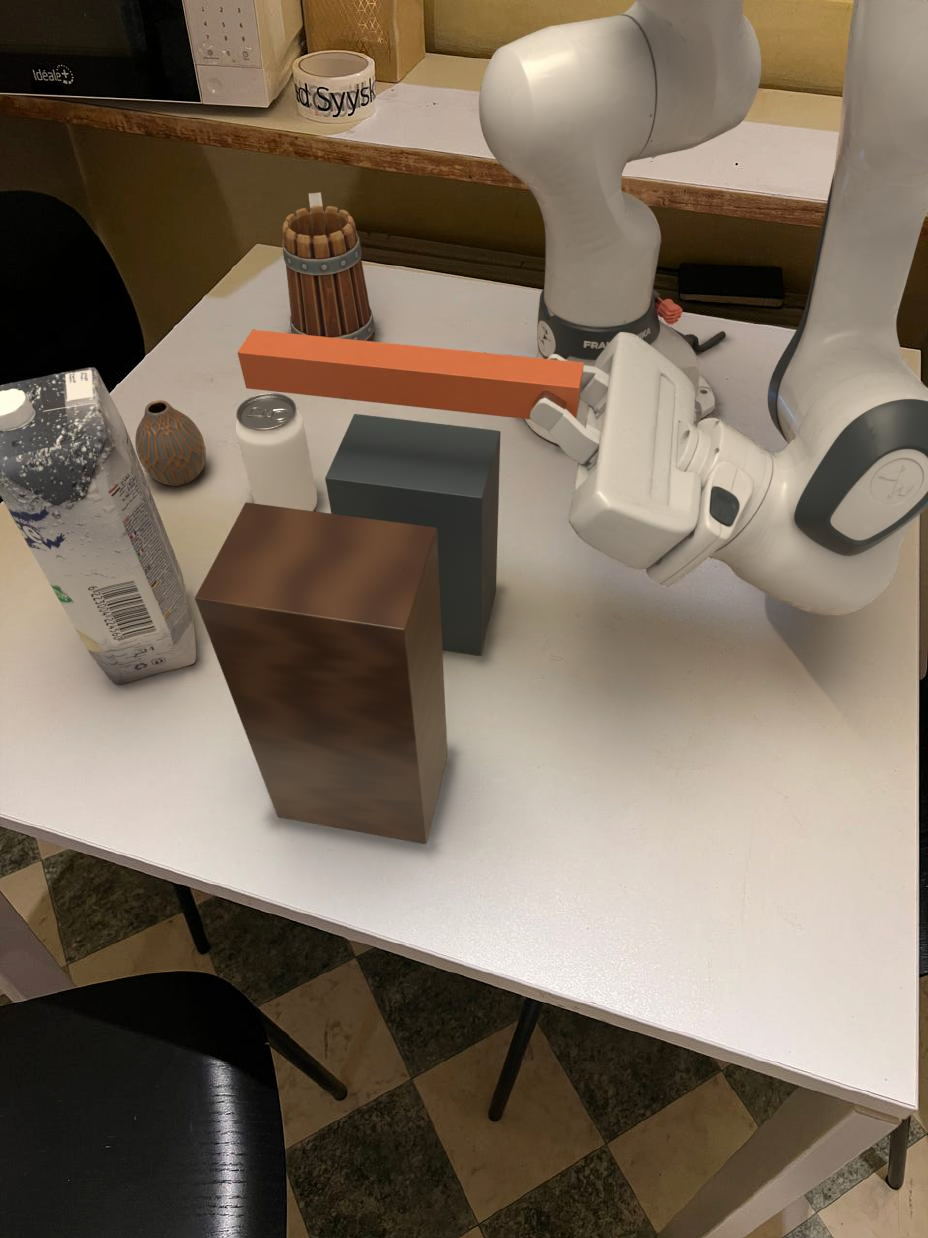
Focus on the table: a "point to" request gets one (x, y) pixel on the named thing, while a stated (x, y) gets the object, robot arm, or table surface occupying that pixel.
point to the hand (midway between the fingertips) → (540, 384)
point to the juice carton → (94, 523)
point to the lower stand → (430, 505)
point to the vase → (169, 445)
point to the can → (276, 452)
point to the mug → (326, 274)
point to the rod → (406, 374)
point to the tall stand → (335, 664)
